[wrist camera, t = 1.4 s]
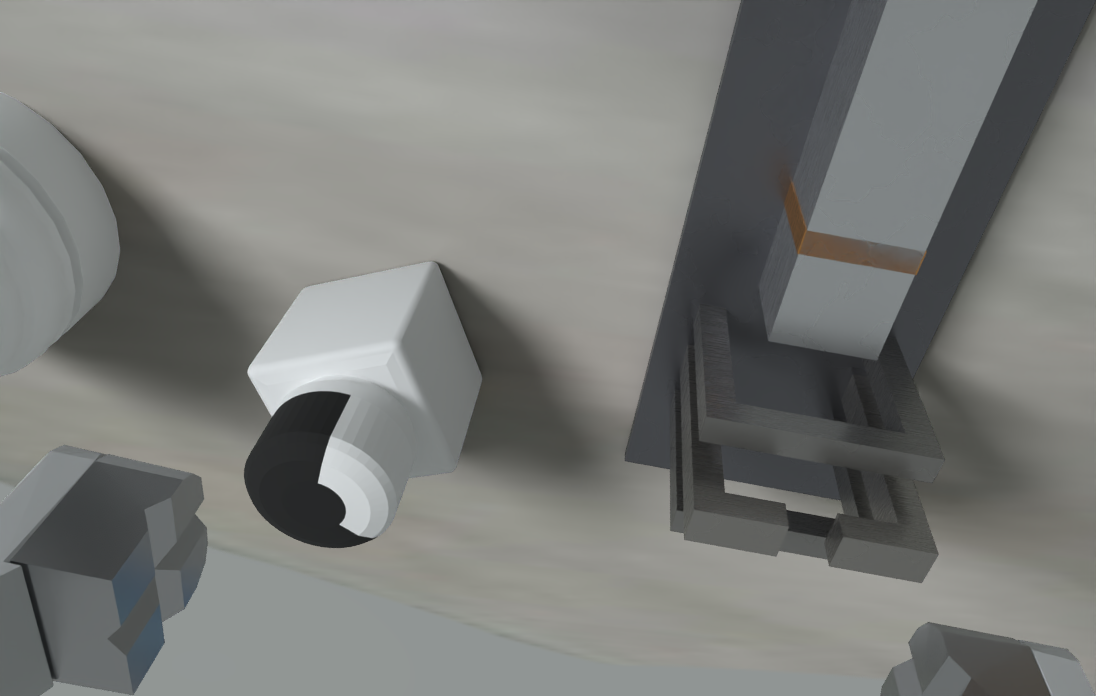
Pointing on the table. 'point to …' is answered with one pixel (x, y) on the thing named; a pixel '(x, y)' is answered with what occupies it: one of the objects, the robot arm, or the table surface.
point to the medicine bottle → (359, 403)
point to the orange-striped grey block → (882, 165)
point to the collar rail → (796, 372)
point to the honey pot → (47, 236)
